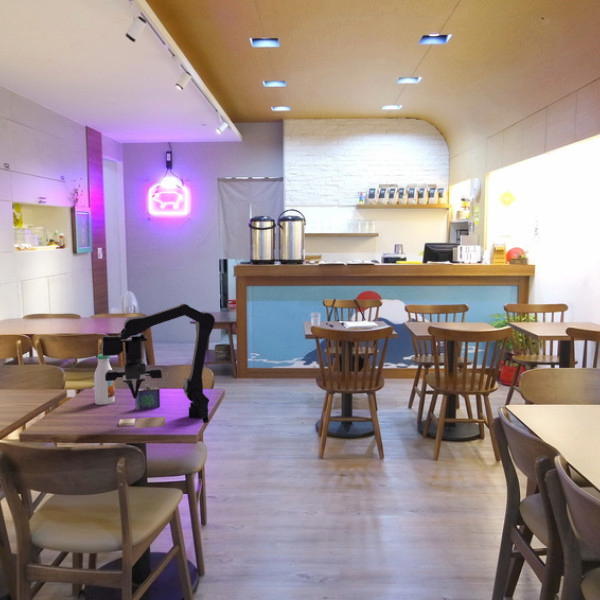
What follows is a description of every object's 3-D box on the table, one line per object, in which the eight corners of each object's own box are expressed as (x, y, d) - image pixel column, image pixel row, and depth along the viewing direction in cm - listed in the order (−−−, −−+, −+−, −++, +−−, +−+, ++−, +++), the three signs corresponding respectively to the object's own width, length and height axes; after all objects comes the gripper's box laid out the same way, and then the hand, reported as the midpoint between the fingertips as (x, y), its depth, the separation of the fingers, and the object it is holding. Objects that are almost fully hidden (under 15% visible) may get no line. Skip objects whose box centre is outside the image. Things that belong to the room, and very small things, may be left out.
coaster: (135, 424, 198) (135, 418, 197) (134, 428, 193) (133, 422, 193) (120, 425, 197) (120, 419, 196) (118, 429, 192) (118, 423, 192)
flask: (135, 413, 213) (134, 386, 212) (135, 411, 215) (134, 384, 215) (160, 411, 215) (159, 384, 215) (159, 409, 218) (159, 382, 218)
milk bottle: (102, 406, 224) (100, 356, 222) (91, 403, 228) (89, 354, 227) (118, 402, 230) (117, 354, 228) (107, 399, 235) (106, 352, 233)
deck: (165, 420, 203) (165, 416, 203) (164, 430, 191) (164, 426, 191) (137, 422, 201) (136, 418, 201) (134, 432, 189) (134, 428, 189)
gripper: (102, 359, 184) (104, 406, 185) (160, 356, 188) (162, 402, 189) (106, 353, 195) (108, 398, 196) (161, 351, 199) (162, 394, 200)
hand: (135, 398), depth 195 cm, fingers closed
